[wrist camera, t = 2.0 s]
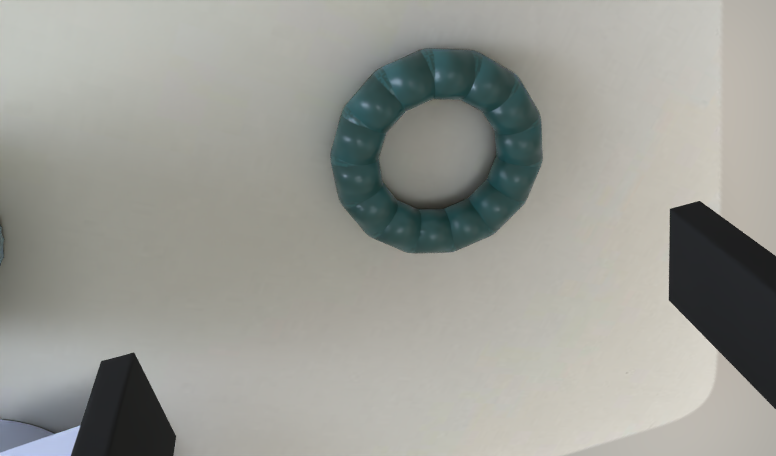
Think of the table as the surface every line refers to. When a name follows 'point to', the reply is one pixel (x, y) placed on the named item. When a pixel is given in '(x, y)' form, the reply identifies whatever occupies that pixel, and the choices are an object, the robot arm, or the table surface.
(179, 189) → the table surface
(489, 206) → the teal beaded ring
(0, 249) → the blue-grey embossed cup
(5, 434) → the wedge on round base
